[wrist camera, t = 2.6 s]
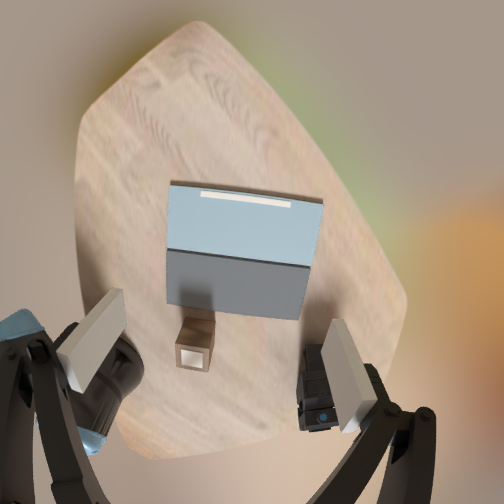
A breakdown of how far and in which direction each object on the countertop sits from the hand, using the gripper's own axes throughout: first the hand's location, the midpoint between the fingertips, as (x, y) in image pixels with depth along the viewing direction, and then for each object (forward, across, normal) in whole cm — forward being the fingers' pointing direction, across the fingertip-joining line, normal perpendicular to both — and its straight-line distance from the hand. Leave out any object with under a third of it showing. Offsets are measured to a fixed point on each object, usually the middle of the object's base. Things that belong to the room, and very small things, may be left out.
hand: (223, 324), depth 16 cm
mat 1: (+23, 0, 0) cm, 23 cm away
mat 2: (+23, 0, -9) cm, 25 cm away
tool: (+23, +16, -27) cm, 39 cm away
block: (+23, -5, -19) cm, 30 cm away
